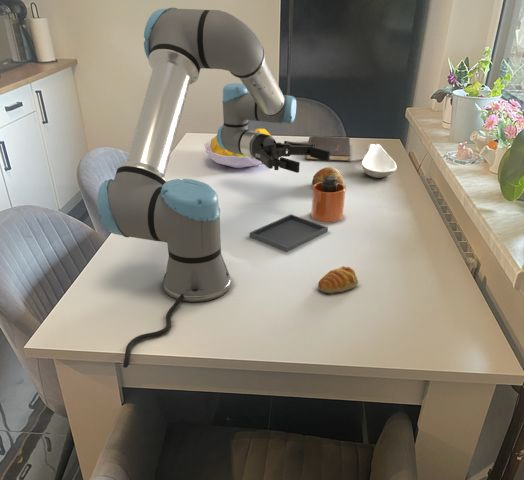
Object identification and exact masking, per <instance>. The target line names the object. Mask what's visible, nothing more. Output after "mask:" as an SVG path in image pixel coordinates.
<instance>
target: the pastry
mask: <svg viewBox="0 0 524 480" xmlns="http://www.w3.org/2000/svg"><path fill="white" fill-rule="evenodd" d="M358 284H359V280H358V276H357V274H356V272H355V270H354V269H353V268H352V267H350V266H344V265H342V266H341V267H339V268H335V269H331V270H329V271H328V272H327V273H325V274H324V275H323V277H321V279H320V280H319V281H318V283H317V286H318V287H317V289H318V291H321V292H324V293H327V294H335V293H336V294H337V293H343V292H346V291H348V290H352V289H354V288H355V287H356V286H357V285H358Z"/></svg>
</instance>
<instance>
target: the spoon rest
mask: <svg viewBox="0 0 524 480" xmlns="http://www.w3.org/2000/svg"><path fill="white" fill-rule="evenodd" d="M397 167H398V166H397V163H396V161H395V160H394V159H393V158H392V157H391V156H390V155H389V153H387V151H386V150H385V149H384V148H383V147H382V145H381V144H380V143H375V144H374V143H369V144H368V145H367V147H366V150H365V152H364V155H363V159H362V160H361V168H362V170H363V172H365V174H366V175H368V176H369V177H372V178H375V179H382V178H387V177H389V176H391V175H392V174H394V172H395V171H396V170H397Z"/></svg>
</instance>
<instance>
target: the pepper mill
mask: <svg viewBox="0 0 524 480" xmlns="http://www.w3.org/2000/svg"><path fill="white" fill-rule="evenodd" d="M337 184H338V183H337V182H336V178H335V177H333V176H326V177H324V181H323V182H322V186H321V191H322V192H337Z"/></svg>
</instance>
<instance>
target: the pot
mask: <svg viewBox="0 0 524 480" xmlns="http://www.w3.org/2000/svg"><path fill="white" fill-rule="evenodd" d="M321 186H322V182H319V183H316V184H315V185H312V198H311V218H312V219H313V220H315V221H317V222H320V223H321V222H322V223H337V222H340V221H341V220H342V219H343V218H344V208H345V207H344V206H345V199H346V198H345V197H346V186H345V185H344V184H343V185H342V184H340V183H338V184H337V192H322V191H321Z"/></svg>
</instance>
